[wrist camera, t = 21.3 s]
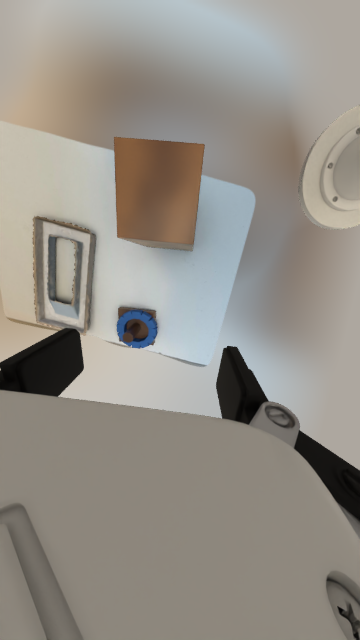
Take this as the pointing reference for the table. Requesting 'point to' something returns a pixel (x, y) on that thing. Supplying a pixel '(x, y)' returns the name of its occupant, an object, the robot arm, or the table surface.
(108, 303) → the table surface
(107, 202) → the table surface
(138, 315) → the ring
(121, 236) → the stand
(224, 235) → the table surface
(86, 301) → the picture frame
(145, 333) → the post
